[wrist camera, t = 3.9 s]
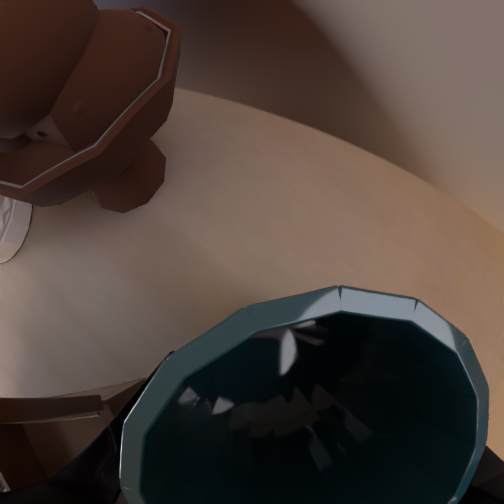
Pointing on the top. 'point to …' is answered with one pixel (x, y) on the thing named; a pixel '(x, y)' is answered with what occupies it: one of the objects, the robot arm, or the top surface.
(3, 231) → the white cup
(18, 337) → the top surface
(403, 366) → the teal drinking tumbler
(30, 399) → the lid
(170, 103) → the ice cream bowl
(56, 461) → the brown wooden square box
